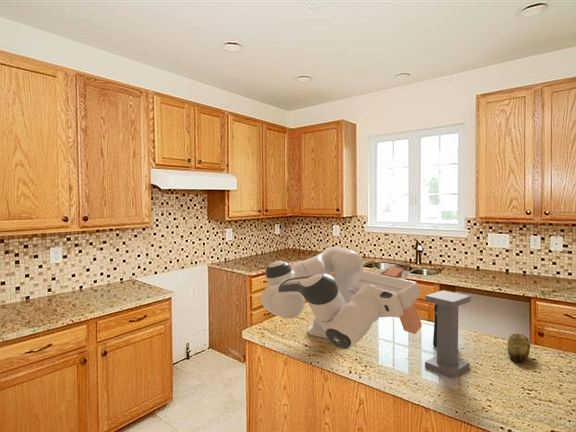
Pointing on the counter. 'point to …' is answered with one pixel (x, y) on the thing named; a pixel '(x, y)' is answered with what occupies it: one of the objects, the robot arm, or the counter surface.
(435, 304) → the coffee jar
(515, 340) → the potato
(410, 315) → the block
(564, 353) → the counter surface
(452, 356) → the stand
